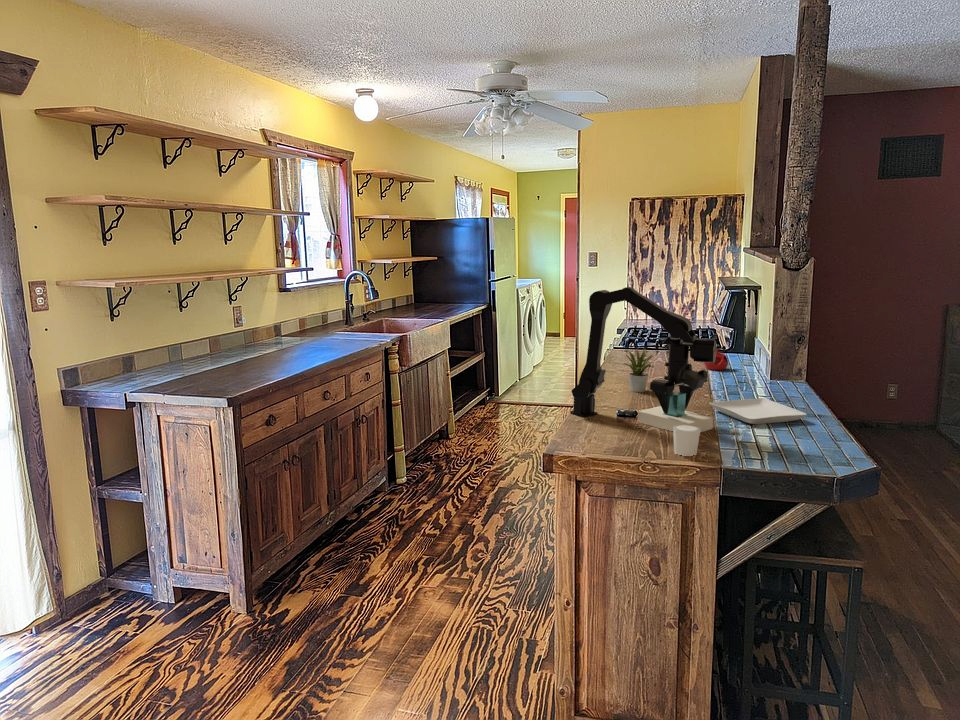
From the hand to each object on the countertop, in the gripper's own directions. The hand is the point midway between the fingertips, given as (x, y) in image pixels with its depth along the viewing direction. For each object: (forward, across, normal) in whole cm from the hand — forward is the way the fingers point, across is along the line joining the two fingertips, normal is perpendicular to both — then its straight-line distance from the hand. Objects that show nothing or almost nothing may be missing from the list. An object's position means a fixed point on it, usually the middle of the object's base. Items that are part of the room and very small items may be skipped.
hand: (675, 411), depth 199 cm
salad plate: (+5, +30, -9) cm, 32 cm away
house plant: (+5, +28, +36) cm, 46 cm away
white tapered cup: (+5, -20, -18) cm, 27 cm away
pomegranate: (+5, +89, +44) cm, 99 cm away
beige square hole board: (+4, 0, 0) cm, 4 cm away
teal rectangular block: (+4, 0, 0) cm, 4 cm away
